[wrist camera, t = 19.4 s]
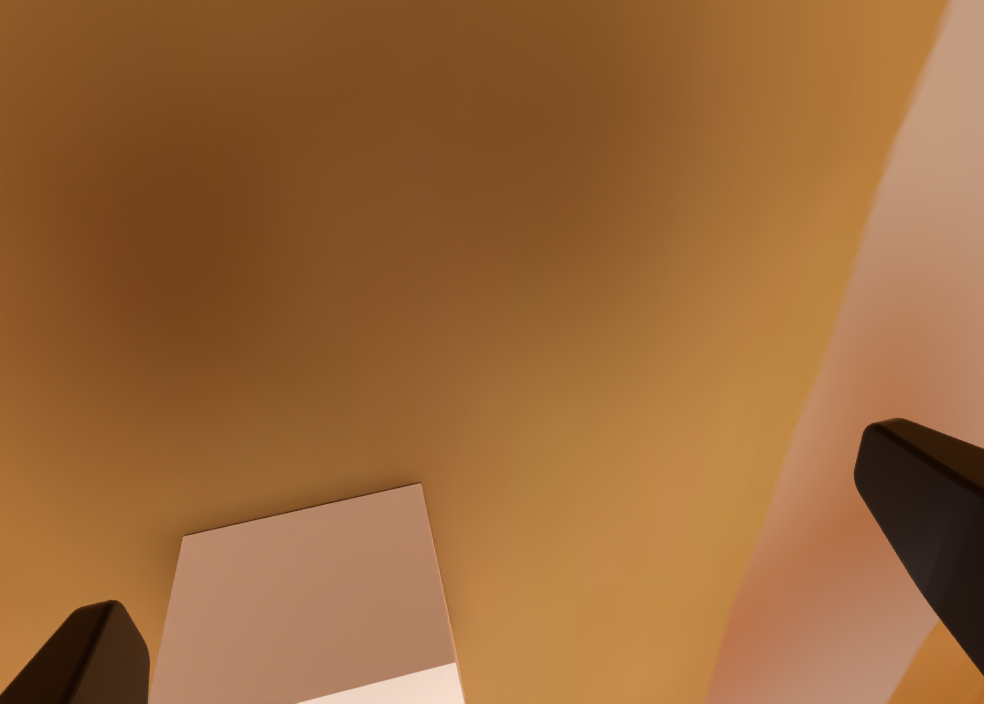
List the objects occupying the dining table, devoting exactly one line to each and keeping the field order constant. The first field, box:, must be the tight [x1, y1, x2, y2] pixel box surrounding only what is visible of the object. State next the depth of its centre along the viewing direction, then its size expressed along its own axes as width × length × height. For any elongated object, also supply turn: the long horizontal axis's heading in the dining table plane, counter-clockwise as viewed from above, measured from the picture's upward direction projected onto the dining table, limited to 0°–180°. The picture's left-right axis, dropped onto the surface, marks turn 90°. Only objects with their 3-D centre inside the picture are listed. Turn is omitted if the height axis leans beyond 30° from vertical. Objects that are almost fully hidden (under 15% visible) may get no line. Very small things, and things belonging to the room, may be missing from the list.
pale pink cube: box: [148, 483, 466, 704], centre depth 22 cm, size 8×8×7 cm
